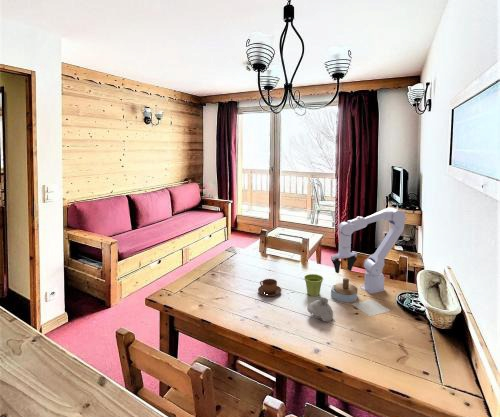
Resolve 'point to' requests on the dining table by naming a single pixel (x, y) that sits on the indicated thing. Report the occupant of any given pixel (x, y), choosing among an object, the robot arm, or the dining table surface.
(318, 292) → the plant pot
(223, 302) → the dining table surface
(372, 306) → the mat
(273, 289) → the cup and saucer
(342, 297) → the bowl
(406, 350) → the dining table surface
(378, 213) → the robot arm
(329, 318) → the grey clay mound
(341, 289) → the lid
